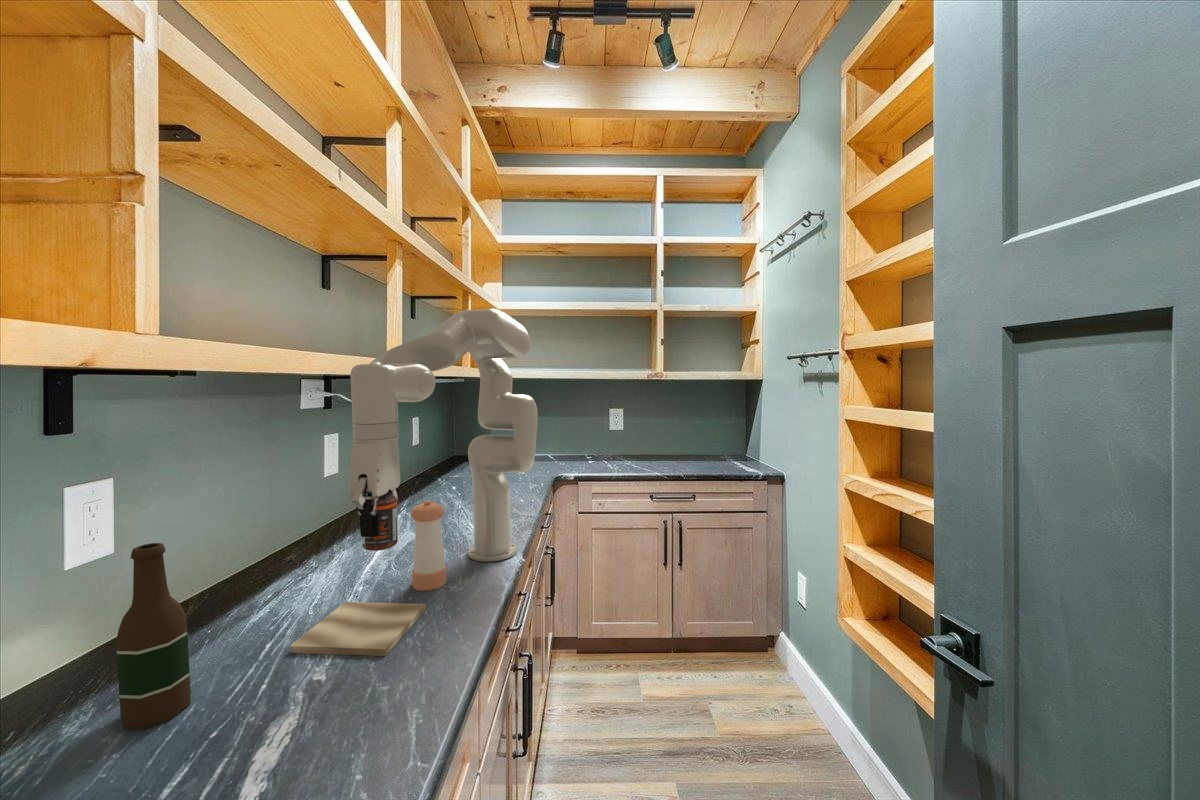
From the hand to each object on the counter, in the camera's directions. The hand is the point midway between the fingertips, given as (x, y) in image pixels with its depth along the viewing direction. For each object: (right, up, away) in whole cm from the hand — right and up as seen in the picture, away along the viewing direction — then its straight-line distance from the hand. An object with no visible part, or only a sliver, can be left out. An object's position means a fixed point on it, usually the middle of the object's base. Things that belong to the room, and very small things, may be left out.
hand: (379, 529), depth 88 cm
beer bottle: (-23, -21, -20) cm, 37 cm away
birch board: (-4, -19, +2) cm, 20 cm away
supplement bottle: (0, -3, 0) cm, 3 cm away
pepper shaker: (+1, -18, +22) cm, 28 cm away
